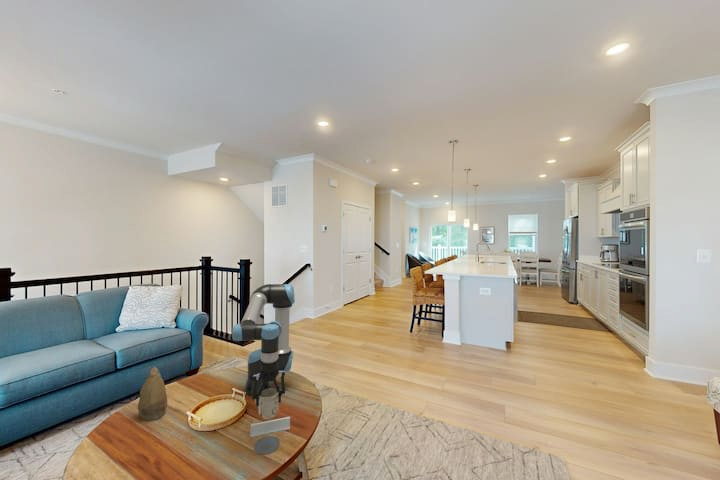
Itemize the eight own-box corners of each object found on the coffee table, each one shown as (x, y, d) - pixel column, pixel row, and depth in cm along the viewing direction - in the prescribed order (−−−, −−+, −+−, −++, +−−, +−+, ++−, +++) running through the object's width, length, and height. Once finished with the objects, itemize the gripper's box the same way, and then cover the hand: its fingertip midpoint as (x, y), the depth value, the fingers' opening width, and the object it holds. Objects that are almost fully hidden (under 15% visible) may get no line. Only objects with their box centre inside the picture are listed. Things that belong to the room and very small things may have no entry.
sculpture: (133, 418, 143) (134, 369, 143) (157, 406, 153) (158, 360, 153) (147, 425, 138) (148, 374, 138) (171, 413, 148) (172, 365, 148)
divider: (250, 433, 134) (250, 423, 134) (289, 425, 141) (289, 415, 141) (250, 437, 131) (250, 427, 131) (290, 429, 138) (290, 419, 138)
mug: (270, 422, 121) (269, 398, 121) (248, 417, 126) (247, 394, 126) (283, 412, 128) (282, 389, 129) (261, 407, 133) (260, 385, 134)
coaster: (254, 439, 130) (254, 439, 130) (278, 434, 134) (278, 433, 134) (254, 457, 120) (254, 456, 120) (281, 450, 124) (281, 449, 124)
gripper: (245, 366, 120) (244, 420, 120) (293, 360, 127) (291, 411, 127) (246, 359, 127) (244, 410, 127) (290, 354, 134) (289, 402, 134)
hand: (268, 411), depth 127 cm, fingers closed on mug, 7 cm apart
